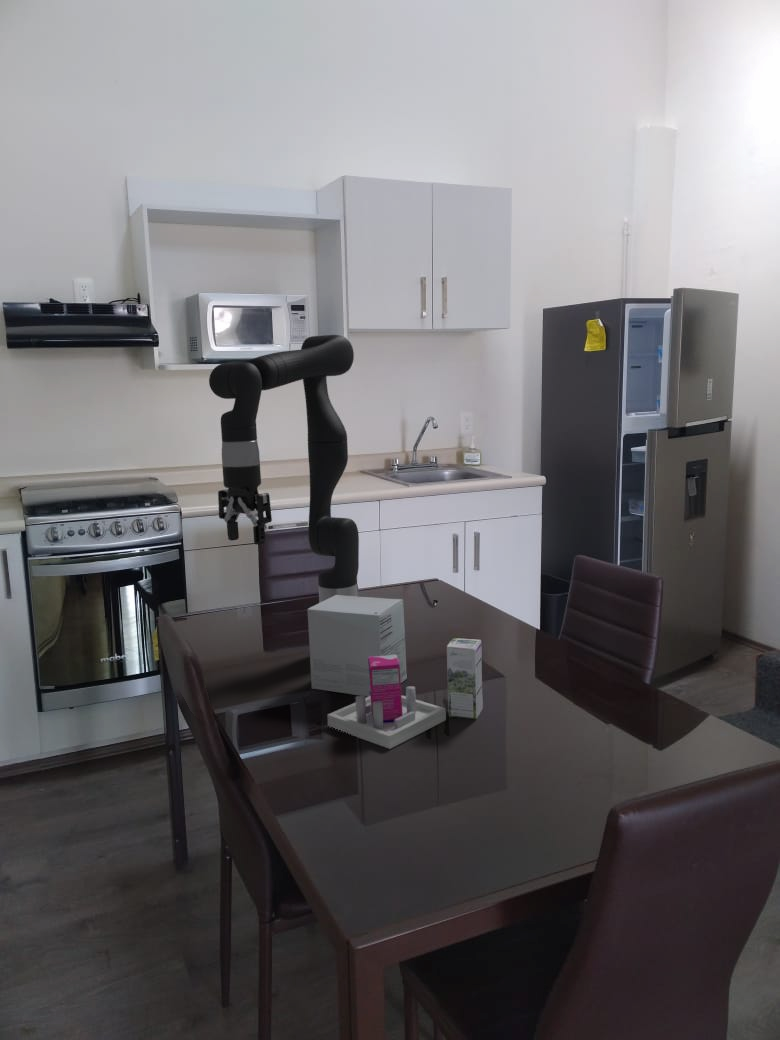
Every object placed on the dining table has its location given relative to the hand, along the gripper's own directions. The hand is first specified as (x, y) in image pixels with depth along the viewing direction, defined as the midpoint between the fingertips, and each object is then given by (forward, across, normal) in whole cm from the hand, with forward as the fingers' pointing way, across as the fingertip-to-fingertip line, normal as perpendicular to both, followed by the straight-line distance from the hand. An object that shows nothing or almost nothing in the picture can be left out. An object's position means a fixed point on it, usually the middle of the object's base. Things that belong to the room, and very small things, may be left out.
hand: (246, 541), depth 171 cm
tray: (+33, -32, -6) cm, 46 cm away
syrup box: (+33, -41, -19) cm, 56 cm away
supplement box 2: (+32, -32, -6) cm, 46 cm away
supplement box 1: (+33, -13, -18) cm, 40 cm away
